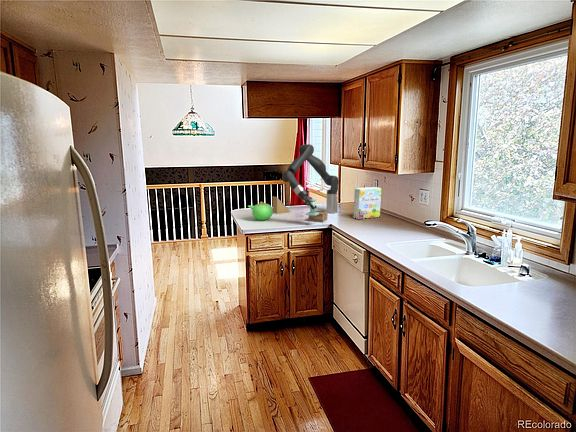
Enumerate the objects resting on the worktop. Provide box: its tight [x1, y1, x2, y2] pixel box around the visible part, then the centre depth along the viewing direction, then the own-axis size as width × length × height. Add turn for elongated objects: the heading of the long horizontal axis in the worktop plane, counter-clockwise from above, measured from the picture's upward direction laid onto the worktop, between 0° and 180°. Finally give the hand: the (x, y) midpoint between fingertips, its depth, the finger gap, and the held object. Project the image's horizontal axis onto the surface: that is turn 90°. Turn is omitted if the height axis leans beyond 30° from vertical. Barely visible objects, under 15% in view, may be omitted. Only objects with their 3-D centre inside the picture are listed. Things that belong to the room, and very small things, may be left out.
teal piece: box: [305, 198, 319, 216], centre depth 308 cm, size 8×8×12 cm
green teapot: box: [247, 201, 274, 221], centre depth 327 cm, size 18×17×15 cm
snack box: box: [352, 186, 383, 220], centre depth 331 cm, size 22×9×26 cm, turn 112°
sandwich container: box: [272, 196, 292, 215], centre depth 358 cm, size 9×15×15 cm, turn 120°
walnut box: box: [308, 210, 329, 223], centre depth 325 cm, size 12×12×7 cm
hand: (314, 208), depth 307 cm, fingers closed on teal piece, 3 cm apart
